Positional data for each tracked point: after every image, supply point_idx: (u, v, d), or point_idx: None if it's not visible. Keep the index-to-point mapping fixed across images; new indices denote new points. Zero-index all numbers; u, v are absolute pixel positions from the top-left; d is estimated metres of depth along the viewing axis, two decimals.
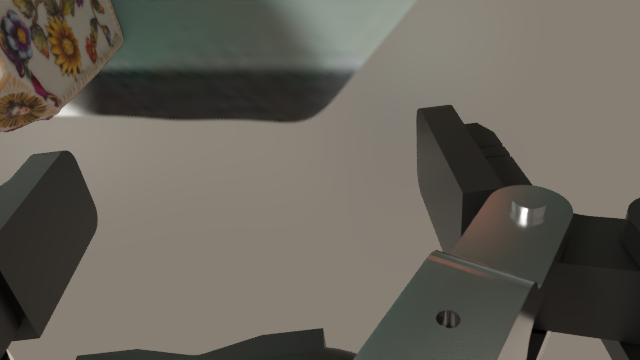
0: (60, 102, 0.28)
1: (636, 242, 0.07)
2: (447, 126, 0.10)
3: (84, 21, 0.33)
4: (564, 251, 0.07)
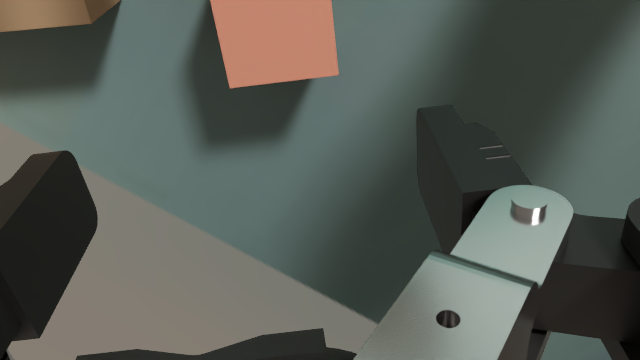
0: None
1: (636, 242, 0.07)
2: (447, 126, 0.10)
3: None
4: (564, 251, 0.07)
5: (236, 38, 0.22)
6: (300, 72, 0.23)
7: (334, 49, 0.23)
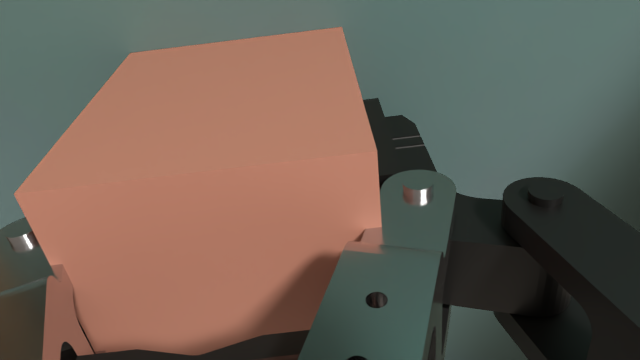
0: None
1: (516, 226, 0.08)
2: (368, 118, 0.11)
3: None
4: None
5: (129, 327, 0.09)
6: None
7: None
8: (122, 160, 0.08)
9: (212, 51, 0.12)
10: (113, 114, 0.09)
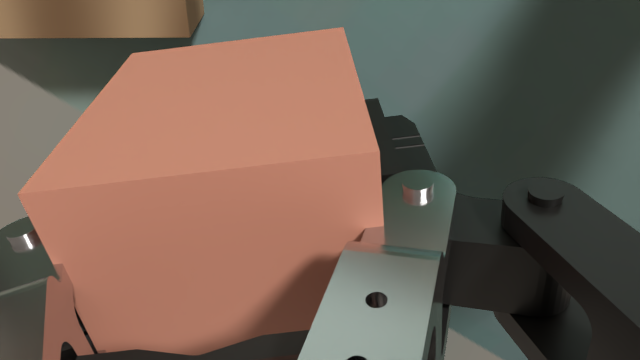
0: None
1: (515, 226, 0.08)
2: None
3: None
4: None
5: (132, 327, 0.09)
6: None
7: None
8: (125, 161, 0.08)
9: (214, 51, 0.12)
10: (115, 114, 0.09)
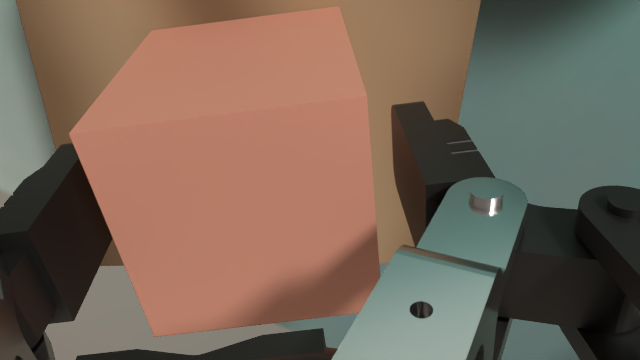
0: None
1: (589, 233, 0.07)
2: (417, 122, 0.11)
3: None
4: None
5: (159, 255, 0.10)
6: (302, 308, 0.11)
7: (376, 269, 0.11)
8: (156, 108, 0.09)
9: (224, 27, 0.13)
10: (143, 76, 0.11)
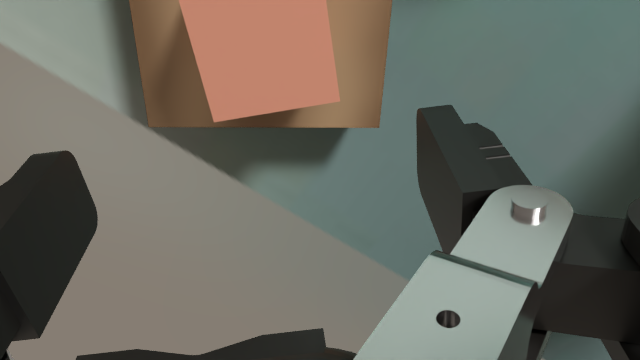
0: None
1: (636, 242, 0.07)
2: (447, 126, 0.10)
3: None
4: (564, 251, 0.07)
5: (218, 65, 0.19)
6: (295, 100, 0.20)
7: (334, 72, 0.20)
8: None
9: None
10: None
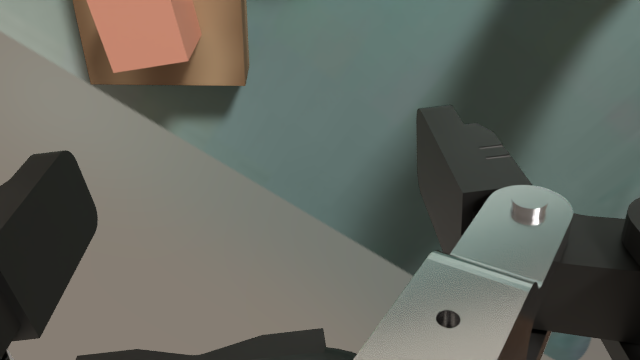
0: None
1: (636, 242, 0.07)
2: (447, 126, 0.10)
3: None
4: (564, 251, 0.07)
5: (112, 37, 0.33)
6: (161, 60, 0.34)
7: (181, 43, 0.33)
8: None
9: None
10: None
